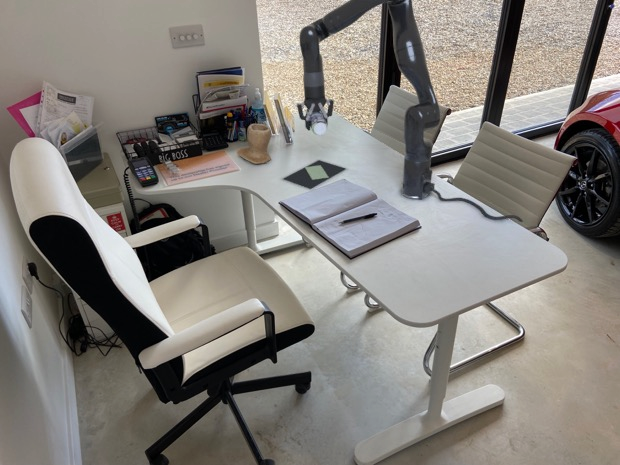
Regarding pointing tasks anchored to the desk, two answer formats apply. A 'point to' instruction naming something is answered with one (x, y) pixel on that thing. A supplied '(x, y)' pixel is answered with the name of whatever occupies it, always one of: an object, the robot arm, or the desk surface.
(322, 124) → the beverage can
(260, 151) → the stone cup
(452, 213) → the desk surface
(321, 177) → the desk mat
